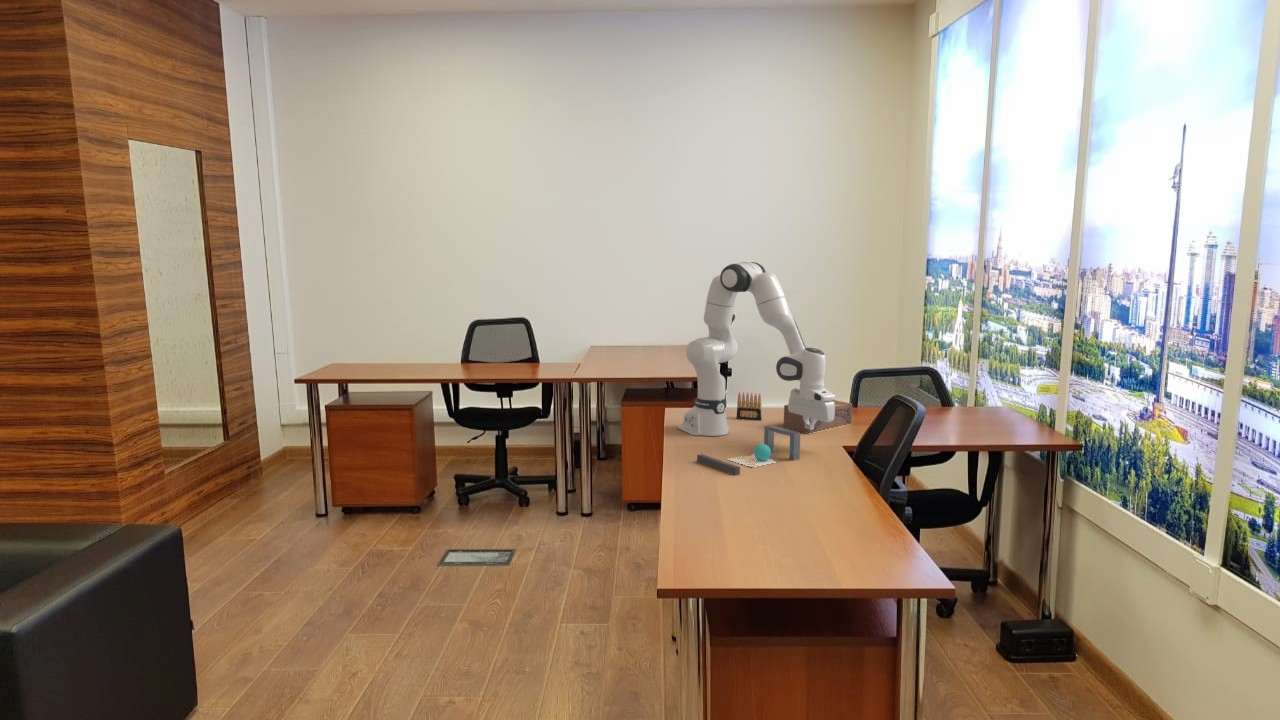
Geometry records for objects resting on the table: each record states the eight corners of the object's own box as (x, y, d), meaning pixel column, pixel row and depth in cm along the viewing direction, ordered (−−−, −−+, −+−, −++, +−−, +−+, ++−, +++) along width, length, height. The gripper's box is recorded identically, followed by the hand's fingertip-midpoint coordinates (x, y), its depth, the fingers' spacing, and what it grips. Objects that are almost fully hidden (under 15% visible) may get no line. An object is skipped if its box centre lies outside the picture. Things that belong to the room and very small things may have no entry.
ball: (761, 441, 291) (760, 458, 292) (750, 443, 287) (749, 460, 288) (775, 444, 287) (773, 461, 287) (764, 446, 283) (763, 463, 283)
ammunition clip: (761, 419, 355) (762, 392, 353) (761, 420, 353) (761, 393, 352) (737, 418, 358) (737, 391, 356) (736, 419, 356) (737, 392, 354)
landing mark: (726, 459, 289) (726, 459, 289) (753, 454, 296) (753, 453, 296) (751, 468, 278) (751, 467, 278) (779, 462, 286) (779, 461, 286)
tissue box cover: (824, 420, 355) (825, 398, 354) (851, 427, 344) (852, 403, 342) (783, 428, 340) (784, 405, 338) (810, 435, 328) (810, 410, 327)
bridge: (793, 460, 288) (794, 433, 287) (763, 451, 300) (764, 425, 299) (799, 459, 290) (800, 432, 289) (769, 450, 302) (770, 424, 301)
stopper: (697, 461, 286) (697, 454, 285) (701, 461, 287) (701, 454, 286) (735, 475, 269) (735, 467, 269) (739, 474, 271) (739, 466, 270)
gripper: (785, 388, 308) (783, 423, 310) (826, 398, 291) (824, 435, 293) (797, 386, 311) (794, 421, 313) (838, 396, 295) (835, 433, 297)
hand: (809, 428), depth 303 cm, fingers closed
